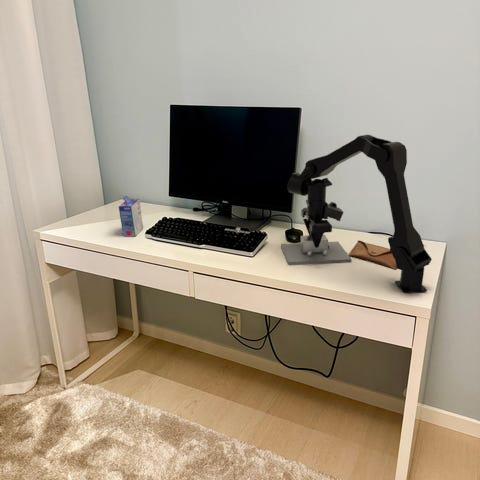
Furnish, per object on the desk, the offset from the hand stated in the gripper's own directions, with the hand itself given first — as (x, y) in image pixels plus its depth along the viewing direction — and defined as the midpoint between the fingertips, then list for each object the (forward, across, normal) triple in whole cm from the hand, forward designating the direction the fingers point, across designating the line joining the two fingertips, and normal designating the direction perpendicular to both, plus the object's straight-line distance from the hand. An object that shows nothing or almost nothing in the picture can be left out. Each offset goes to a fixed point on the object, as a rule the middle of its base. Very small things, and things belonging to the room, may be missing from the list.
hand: (314, 244), depth 144 cm
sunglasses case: (+4, -6, -19) cm, 20 cm away
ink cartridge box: (+4, +30, +65) cm, 72 cm away
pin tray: (+4, 0, 0) cm, 4 cm away
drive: (+2, 0, 0) cm, 2 cm away
